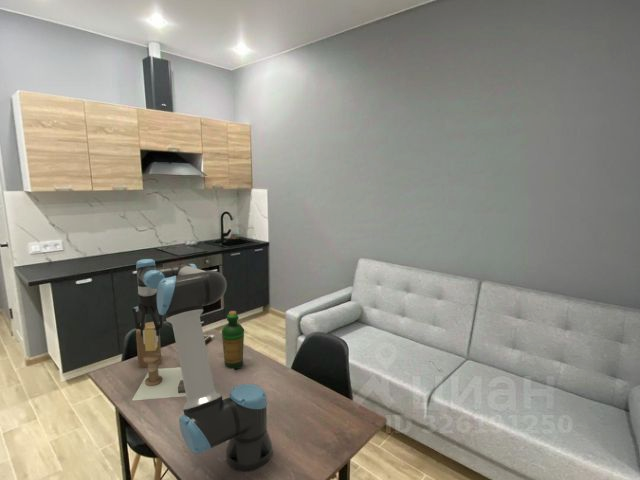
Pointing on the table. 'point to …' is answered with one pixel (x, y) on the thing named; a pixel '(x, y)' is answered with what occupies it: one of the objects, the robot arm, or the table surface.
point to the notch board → (181, 387)
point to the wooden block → (141, 347)
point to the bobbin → (153, 369)
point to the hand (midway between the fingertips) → (151, 342)
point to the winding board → (161, 385)
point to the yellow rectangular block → (150, 339)
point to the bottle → (233, 342)
